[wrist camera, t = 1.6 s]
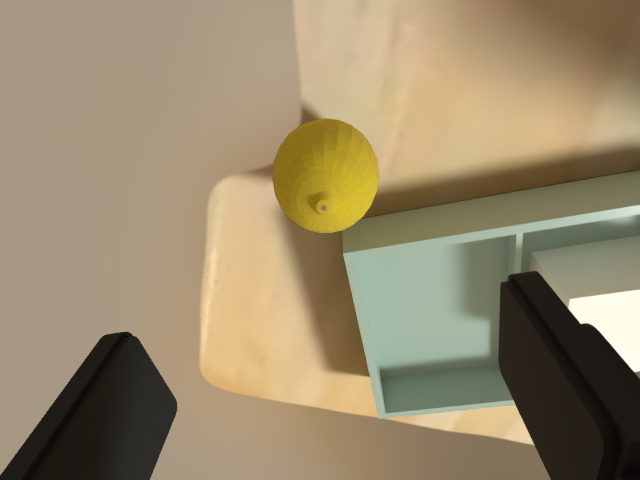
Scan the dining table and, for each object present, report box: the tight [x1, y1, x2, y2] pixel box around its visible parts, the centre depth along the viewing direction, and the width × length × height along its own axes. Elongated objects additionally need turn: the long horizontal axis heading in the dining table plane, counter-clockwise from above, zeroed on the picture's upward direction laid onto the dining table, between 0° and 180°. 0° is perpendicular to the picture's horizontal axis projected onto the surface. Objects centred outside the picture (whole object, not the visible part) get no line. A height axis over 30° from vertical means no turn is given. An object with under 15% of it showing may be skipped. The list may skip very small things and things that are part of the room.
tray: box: [342, 170, 640, 419], centre depth 27 cm, size 16×22×4 cm
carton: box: [529, 235, 640, 372], centre depth 25 cm, size 7×8×5 cm
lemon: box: [272, 118, 379, 233], centre depth 20 cm, size 6×6×8 cm
